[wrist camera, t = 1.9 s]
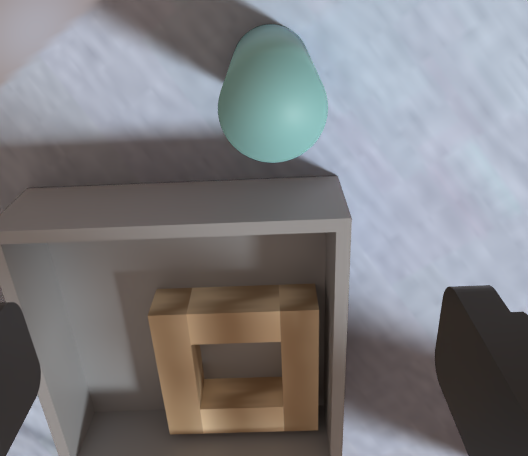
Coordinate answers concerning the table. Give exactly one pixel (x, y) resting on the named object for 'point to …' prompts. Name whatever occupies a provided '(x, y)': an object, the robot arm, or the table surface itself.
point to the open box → (166, 277)
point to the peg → (272, 96)
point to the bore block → (237, 331)
